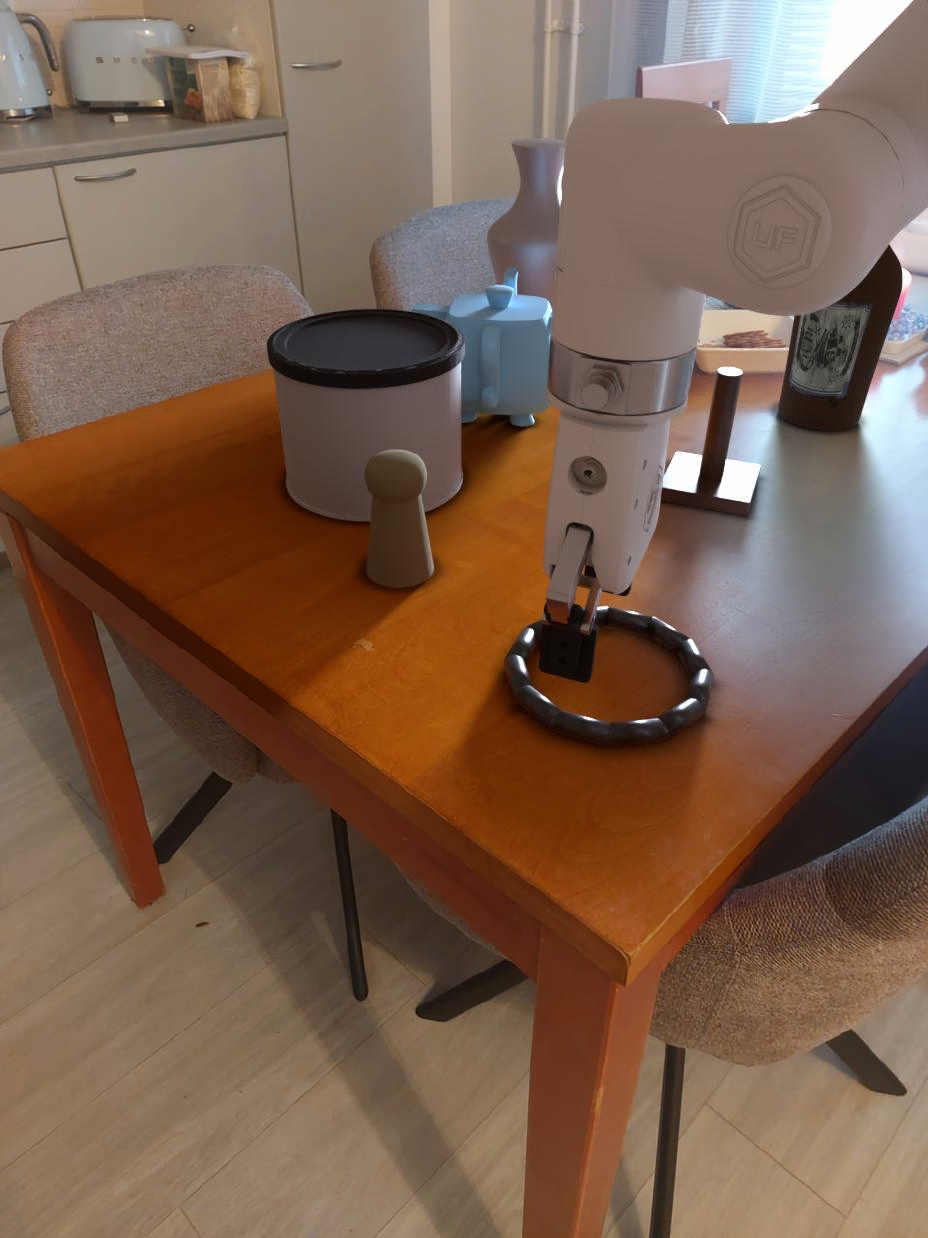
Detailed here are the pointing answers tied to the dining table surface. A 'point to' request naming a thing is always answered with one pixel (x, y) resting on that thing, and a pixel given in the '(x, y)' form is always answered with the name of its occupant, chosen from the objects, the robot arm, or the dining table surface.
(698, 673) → the ring
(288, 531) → the dining table surface
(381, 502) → the wooden peg doll
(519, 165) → the vase
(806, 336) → the olive oil
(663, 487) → the peg
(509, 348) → the teapot
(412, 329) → the container
